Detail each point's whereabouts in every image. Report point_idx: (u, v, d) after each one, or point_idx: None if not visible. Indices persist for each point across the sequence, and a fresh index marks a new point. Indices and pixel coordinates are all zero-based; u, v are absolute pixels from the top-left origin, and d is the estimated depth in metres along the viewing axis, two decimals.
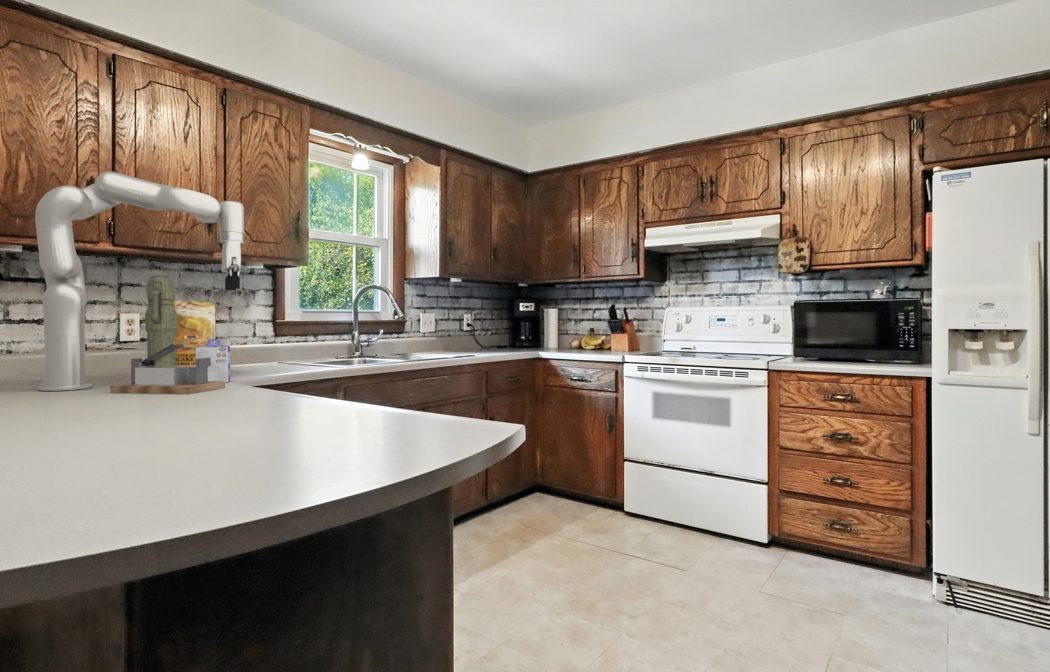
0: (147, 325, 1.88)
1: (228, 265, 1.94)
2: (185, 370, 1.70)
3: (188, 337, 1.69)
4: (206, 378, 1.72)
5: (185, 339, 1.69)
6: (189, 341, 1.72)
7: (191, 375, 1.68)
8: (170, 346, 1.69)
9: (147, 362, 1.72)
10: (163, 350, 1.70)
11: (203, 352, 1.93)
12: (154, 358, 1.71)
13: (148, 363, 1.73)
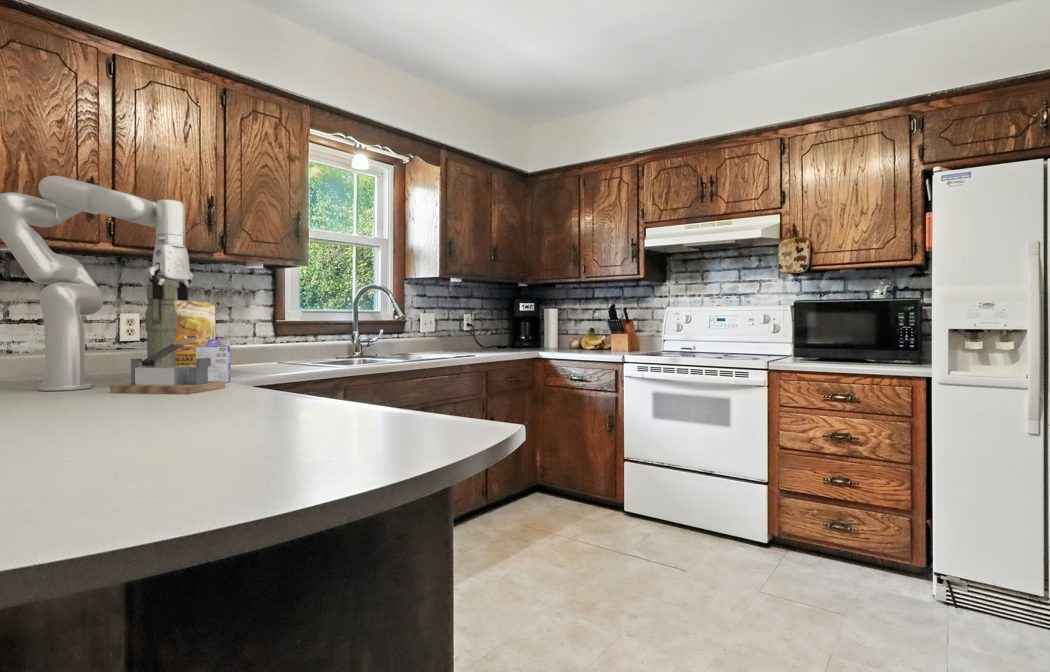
0: (147, 325, 1.88)
1: None
2: (185, 370, 1.70)
3: (188, 337, 1.69)
4: (206, 378, 1.72)
5: (185, 339, 1.69)
6: (189, 341, 1.72)
7: (191, 375, 1.68)
8: (170, 346, 1.69)
9: (147, 362, 1.72)
10: (163, 350, 1.70)
11: (203, 352, 1.93)
12: (154, 358, 1.71)
13: (148, 363, 1.73)
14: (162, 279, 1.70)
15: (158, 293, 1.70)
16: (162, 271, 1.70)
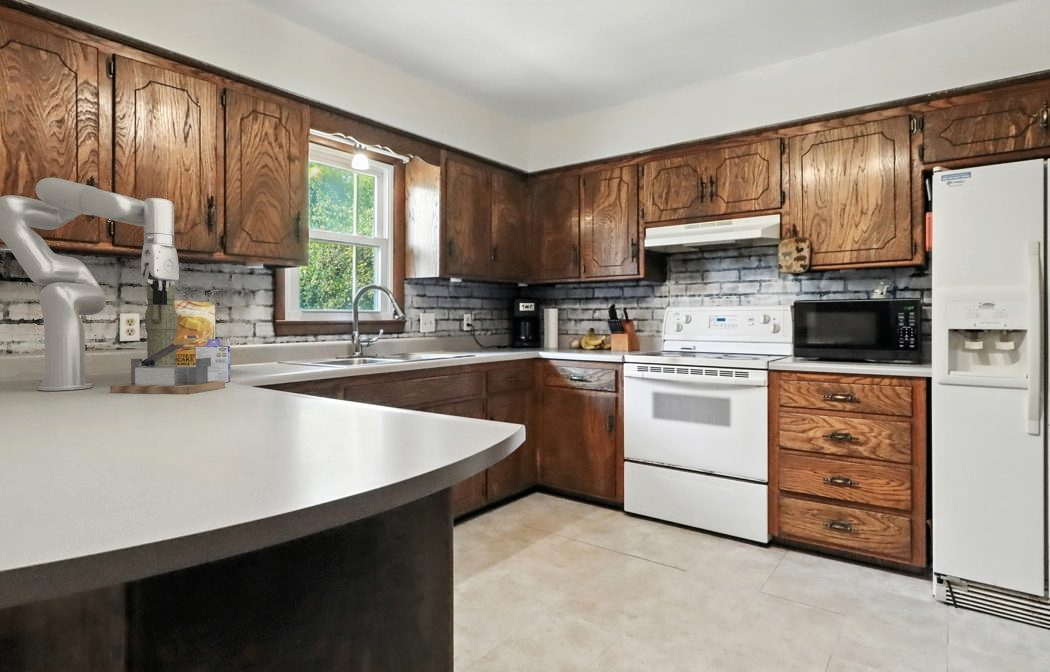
0: (147, 325, 1.88)
1: None
2: (185, 370, 1.70)
3: (188, 337, 1.69)
4: (206, 378, 1.72)
5: (185, 339, 1.69)
6: (189, 341, 1.72)
7: (191, 375, 1.68)
8: (170, 346, 1.69)
9: (147, 362, 1.72)
10: (163, 350, 1.70)
11: (203, 352, 1.93)
12: (154, 358, 1.71)
13: (148, 363, 1.73)
14: (160, 284, 1.70)
15: (158, 299, 1.70)
16: (156, 279, 1.68)
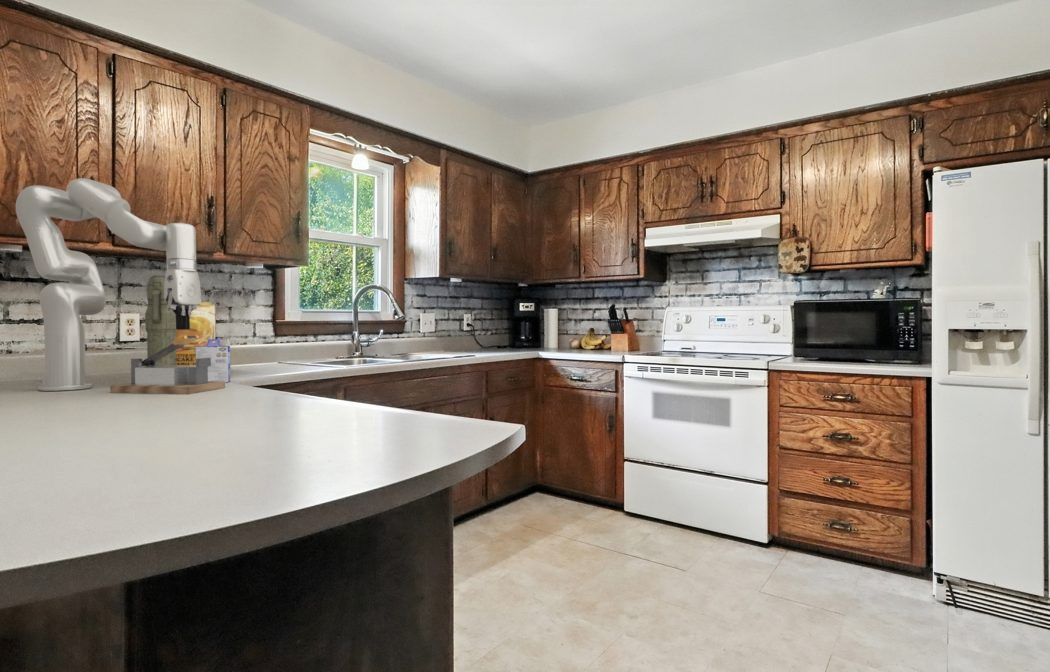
0: (147, 325, 1.88)
1: None
2: (185, 370, 1.70)
3: (188, 337, 1.69)
4: (206, 378, 1.72)
5: (185, 339, 1.69)
6: (189, 341, 1.72)
7: (191, 375, 1.68)
8: (170, 346, 1.69)
9: (147, 362, 1.72)
10: (163, 350, 1.70)
11: (203, 352, 1.93)
12: (154, 358, 1.71)
13: (148, 363, 1.73)
14: (183, 309, 1.69)
15: (182, 324, 1.70)
16: (179, 304, 1.67)
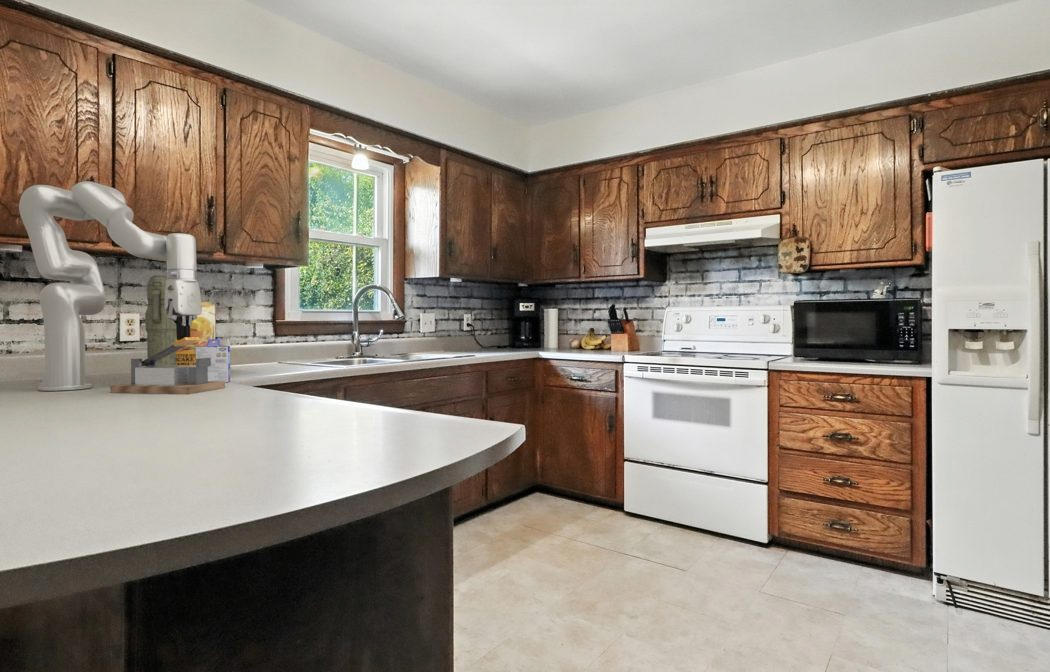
0: (147, 325, 1.88)
1: None
2: (185, 370, 1.70)
3: (189, 339, 1.69)
4: (206, 378, 1.72)
5: (186, 341, 1.69)
6: (190, 343, 1.72)
7: (191, 375, 1.68)
8: (171, 347, 1.69)
9: (147, 362, 1.72)
10: (163, 351, 1.70)
11: (203, 352, 1.93)
12: (154, 358, 1.71)
13: (148, 363, 1.73)
14: (183, 319, 1.69)
15: (182, 334, 1.70)
16: (179, 314, 1.67)
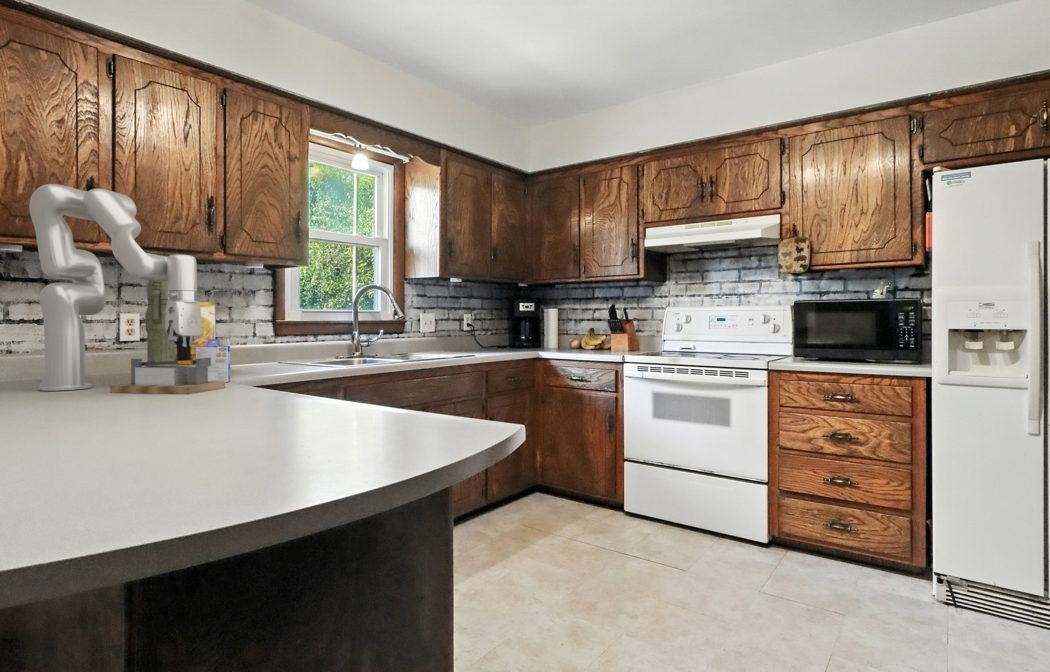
0: (147, 325, 1.88)
1: None
2: (185, 370, 1.70)
3: (194, 362, 1.69)
4: (206, 378, 1.72)
5: None
6: None
7: (191, 375, 1.68)
8: (174, 362, 1.69)
9: None
10: (166, 363, 1.70)
11: (203, 352, 1.93)
12: None
13: None
14: (184, 340, 1.69)
15: (183, 355, 1.70)
16: (180, 336, 1.67)
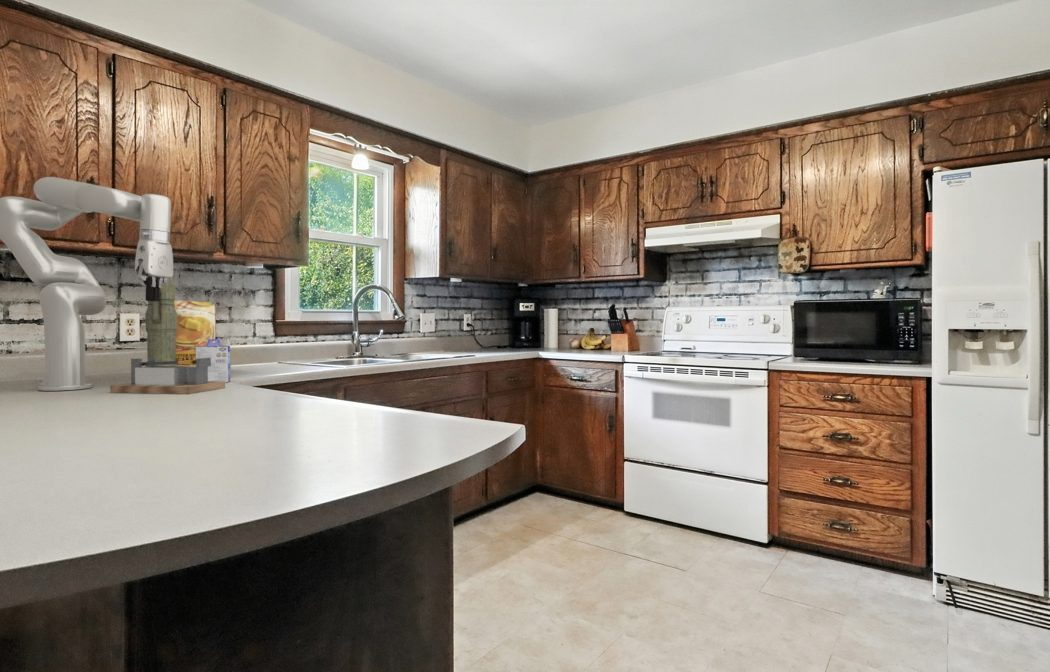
0: (147, 325, 1.88)
1: None
2: (185, 370, 1.70)
3: (194, 362, 1.69)
4: (206, 378, 1.72)
5: (191, 363, 1.69)
6: None
7: (191, 375, 1.68)
8: (174, 362, 1.69)
9: None
10: (166, 363, 1.70)
11: (203, 352, 1.93)
12: None
13: None
14: (153, 280, 1.70)
15: (151, 295, 1.70)
16: (149, 275, 1.68)
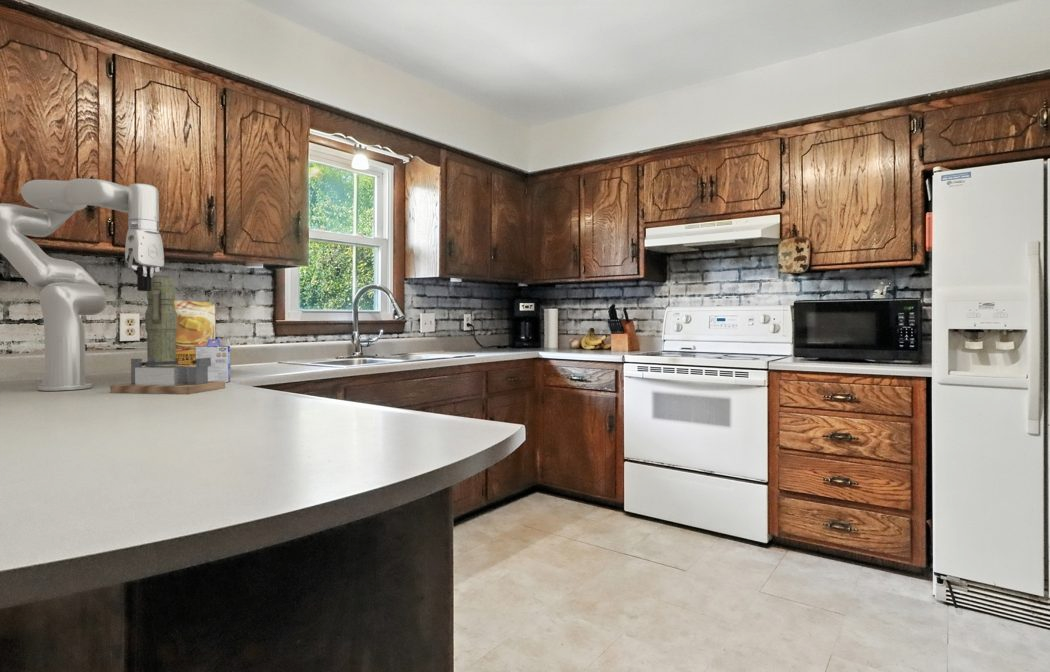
0: (147, 325, 1.88)
1: None
2: (185, 370, 1.70)
3: (194, 362, 1.69)
4: (206, 378, 1.72)
5: (191, 363, 1.69)
6: None
7: (191, 375, 1.68)
8: (174, 362, 1.69)
9: None
10: (166, 363, 1.70)
11: (203, 352, 1.93)
12: None
13: None
14: (144, 270, 1.69)
15: (143, 285, 1.70)
16: (140, 264, 1.68)
